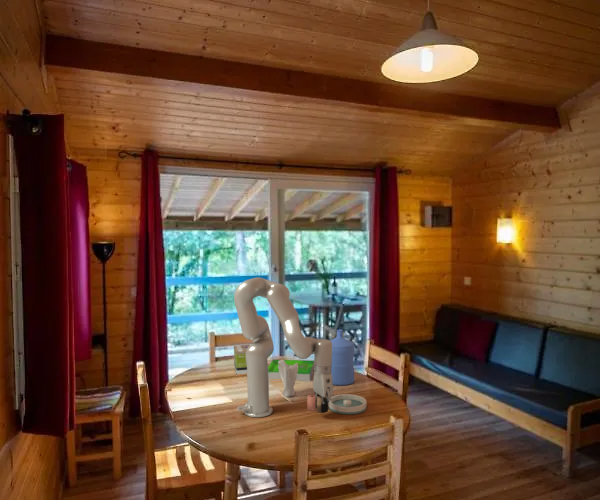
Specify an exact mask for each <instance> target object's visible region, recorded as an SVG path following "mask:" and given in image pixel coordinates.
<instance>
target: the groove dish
mask: <svg viewBox="0 0 600 500" xmlns="http://www.w3.org/2000/svg"><path fill="white" fill-rule="evenodd" d="M367 405H368V403H367V399H366V398H365V397H363V396H360V395H356V394H349V393H345V394H344V393H342V394H340V393H339V394H337V395H336V394H335V395H332V396H331V400H330V401H329V403H328V410H330V411H331V412H333V413H336V414H340V415H350V416H351V415H358V414H361V413H363V412H365V411H366V410H367Z"/></svg>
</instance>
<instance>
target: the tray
mask: <svg viewBox="0 0 600 500" xmlns="http://www.w3.org/2000/svg"><path fill="white" fill-rule="evenodd" d="M279 360H280V359H273V360H272V361H271V362H270V363H269V365H268V372H269V379H281V376H280V373H279V368H278V365H279V364H278V361H279ZM283 360H284V361H285V363H286V364H287V365H294V364H295V363H298V372H297V377H296V380H299V381H298V382H311V379H312V376H313V374H314V371H313V370H314V360H309V359H307V360H305V359H301V360H300V359H298V360H297V359H283ZM288 367H289V366H288ZM312 373H313V374H312Z"/></svg>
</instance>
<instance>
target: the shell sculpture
mask: <svg viewBox="0 0 600 500" xmlns="http://www.w3.org/2000/svg"><path fill="white" fill-rule="evenodd" d="M278 360H279V361H278V364H279V365H278V368H279V373H280V376H281V379H282V383H283V390H282V393H281V394H282V396H284V397H287V398H290V397H293V396H295V394H296V391H295V386H296V385H295V384H296V382H297V381H296V377H297V372H298V363H295V364H294V365H287V364H286V363H285V361H284V360H285V359H278ZM288 366H289V367H288Z"/></svg>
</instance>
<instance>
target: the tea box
mask: <svg viewBox="0 0 600 500" xmlns="http://www.w3.org/2000/svg"><path fill="white" fill-rule="evenodd" d="M250 345H251V344H250V343H248V344H239V345H237V344H236V345H233V357H234V358H233V361H234V362H233V363H234V364H233V365H234V366H233V368H234V367H235V368H234V371H235V370H236V372H235V374H236V373H237V374H245V373H247V364H246V351H247V349H248V347H249V346H250Z"/></svg>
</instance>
